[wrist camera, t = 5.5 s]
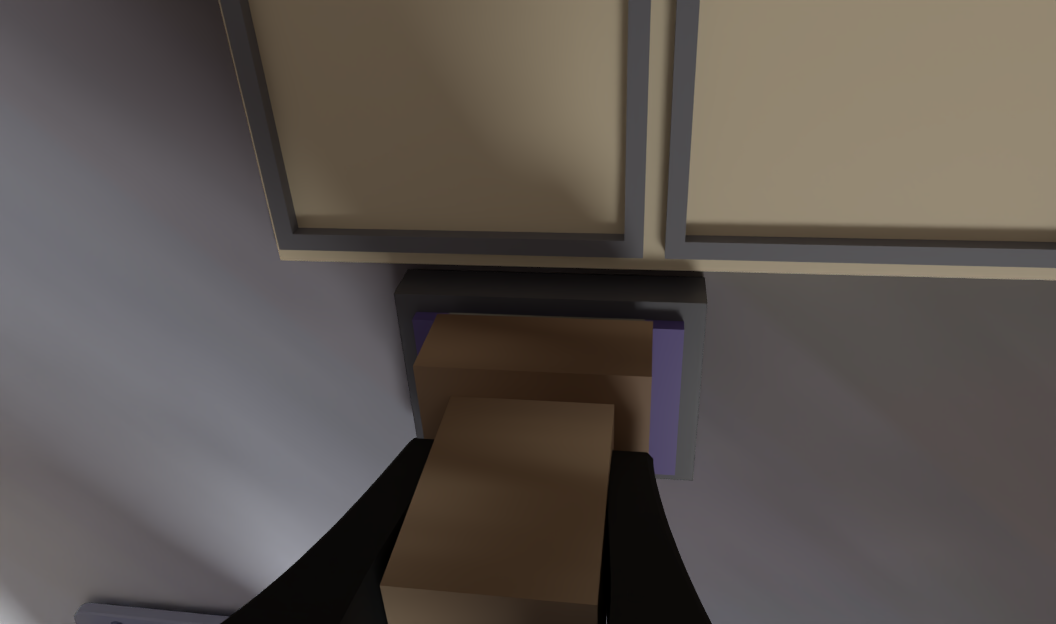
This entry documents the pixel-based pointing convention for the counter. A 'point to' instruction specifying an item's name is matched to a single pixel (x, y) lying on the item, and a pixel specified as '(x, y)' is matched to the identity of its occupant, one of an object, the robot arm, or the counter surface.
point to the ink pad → (583, 295)
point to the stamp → (518, 467)
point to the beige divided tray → (657, 133)
